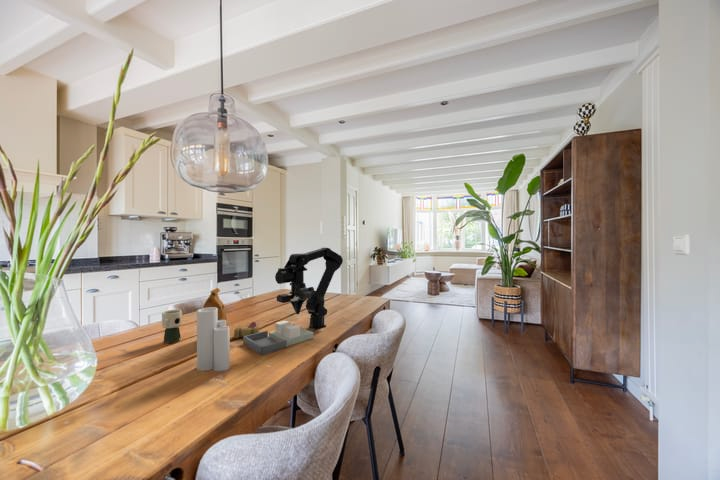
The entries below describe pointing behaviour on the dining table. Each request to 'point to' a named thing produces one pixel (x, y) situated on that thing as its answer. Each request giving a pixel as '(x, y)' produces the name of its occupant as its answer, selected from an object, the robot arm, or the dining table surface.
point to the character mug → (171, 325)
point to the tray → (263, 343)
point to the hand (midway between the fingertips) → (297, 314)
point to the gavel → (246, 330)
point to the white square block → (281, 326)
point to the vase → (212, 341)
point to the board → (303, 336)
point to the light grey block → (292, 331)
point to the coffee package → (216, 304)
